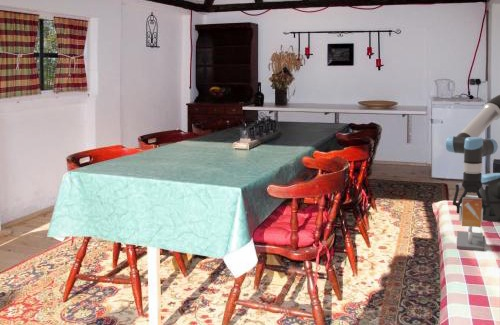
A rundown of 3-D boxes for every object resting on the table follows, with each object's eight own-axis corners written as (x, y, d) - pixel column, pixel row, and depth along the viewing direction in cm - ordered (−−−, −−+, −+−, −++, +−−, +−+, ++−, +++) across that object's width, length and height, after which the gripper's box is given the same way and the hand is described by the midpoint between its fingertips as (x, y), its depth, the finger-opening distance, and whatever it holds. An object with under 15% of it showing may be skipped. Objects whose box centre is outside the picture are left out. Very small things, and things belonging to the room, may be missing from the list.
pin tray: (457, 233, 262) (457, 221, 261) (482, 235, 258) (482, 222, 257) (456, 248, 242) (457, 235, 241) (483, 250, 238) (484, 237, 237)
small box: (461, 226, 247) (462, 198, 245) (460, 222, 253) (461, 195, 251) (481, 227, 245) (482, 198, 243) (479, 223, 251) (480, 195, 249)
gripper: (498, 171, 244) (495, 220, 248) (447, 169, 252) (446, 217, 256) (499, 174, 237) (496, 225, 241) (447, 172, 245) (445, 221, 249)
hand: (470, 221), depth 249 cm, fingers closed on small box, 8 cm apart
